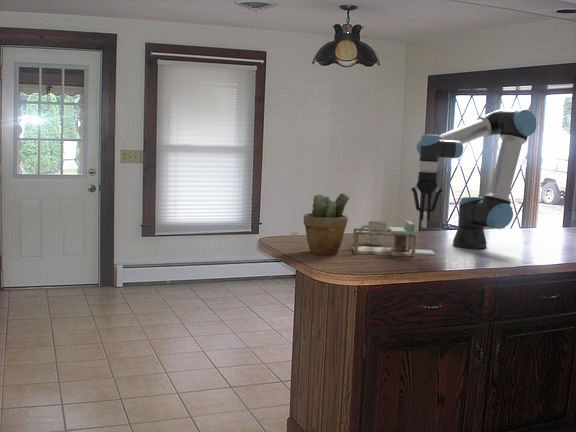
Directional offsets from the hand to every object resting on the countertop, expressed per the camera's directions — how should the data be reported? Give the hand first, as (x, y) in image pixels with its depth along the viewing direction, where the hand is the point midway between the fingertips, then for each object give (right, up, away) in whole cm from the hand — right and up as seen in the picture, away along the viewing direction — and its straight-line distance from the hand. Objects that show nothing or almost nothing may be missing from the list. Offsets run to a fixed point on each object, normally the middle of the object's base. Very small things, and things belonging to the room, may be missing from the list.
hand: (423, 227), depth 291 cm
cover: (-10, -2, 0) cm, 10 cm away
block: (-10, -11, +2) cm, 15 cm away
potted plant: (-43, -10, -6) cm, 44 cm away
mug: (-19, -8, +24) cm, 31 cm away
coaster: (+1, -11, +5) cm, 12 cm away
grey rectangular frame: (-17, -11, +2) cm, 20 cm away
